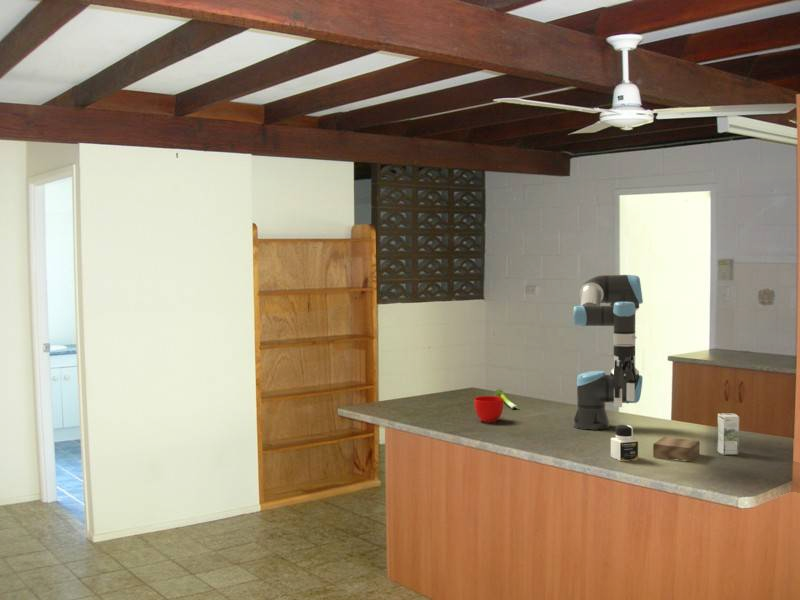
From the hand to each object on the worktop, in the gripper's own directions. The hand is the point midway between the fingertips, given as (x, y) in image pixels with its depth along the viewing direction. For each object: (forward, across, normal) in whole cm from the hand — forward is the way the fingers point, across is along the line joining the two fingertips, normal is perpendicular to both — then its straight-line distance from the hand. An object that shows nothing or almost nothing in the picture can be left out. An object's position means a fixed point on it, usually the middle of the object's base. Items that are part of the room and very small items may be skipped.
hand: (624, 403), depth 306 cm
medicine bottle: (+20, 0, 0) cm, 20 cm away
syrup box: (+20, +26, -30) cm, 45 cm away
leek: (+20, +76, +84) cm, 115 cm away
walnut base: (+20, +13, -15) cm, 28 cm away
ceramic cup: (+20, +37, +74) cm, 85 cm away
